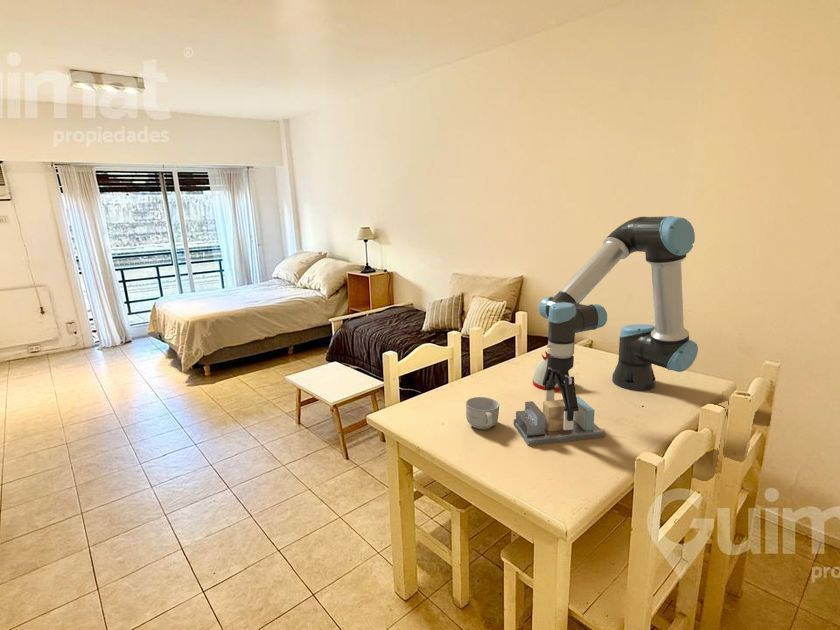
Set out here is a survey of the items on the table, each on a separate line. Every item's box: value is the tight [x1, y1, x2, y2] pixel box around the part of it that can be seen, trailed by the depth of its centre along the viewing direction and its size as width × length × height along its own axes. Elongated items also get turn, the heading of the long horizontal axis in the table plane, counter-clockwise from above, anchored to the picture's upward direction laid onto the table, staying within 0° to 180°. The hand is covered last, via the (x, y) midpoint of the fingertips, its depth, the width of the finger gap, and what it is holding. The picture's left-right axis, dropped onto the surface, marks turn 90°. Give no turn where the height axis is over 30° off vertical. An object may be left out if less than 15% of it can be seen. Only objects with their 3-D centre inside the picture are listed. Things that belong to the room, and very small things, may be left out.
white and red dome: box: [532, 350, 561, 392], centre depth 170 cm, size 14×14×15 cm
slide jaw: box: [574, 395, 596, 432], centre depth 137 cm, size 3×10×7 cm, turn 7°
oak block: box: [542, 398, 566, 431], centre depth 136 cm, size 8×4×8 cm, turn 97°
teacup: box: [465, 396, 500, 430], centre depth 140 cm, size 14×11×8 cm
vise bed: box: [513, 418, 605, 447], centre depth 137 cm, size 24×13×2 cm, turn 97°
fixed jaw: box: [515, 400, 545, 438], centre depth 135 cm, size 6×10×7 cm, turn 7°
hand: (558, 418), depth 136 cm, fingers open, 13 cm apart
